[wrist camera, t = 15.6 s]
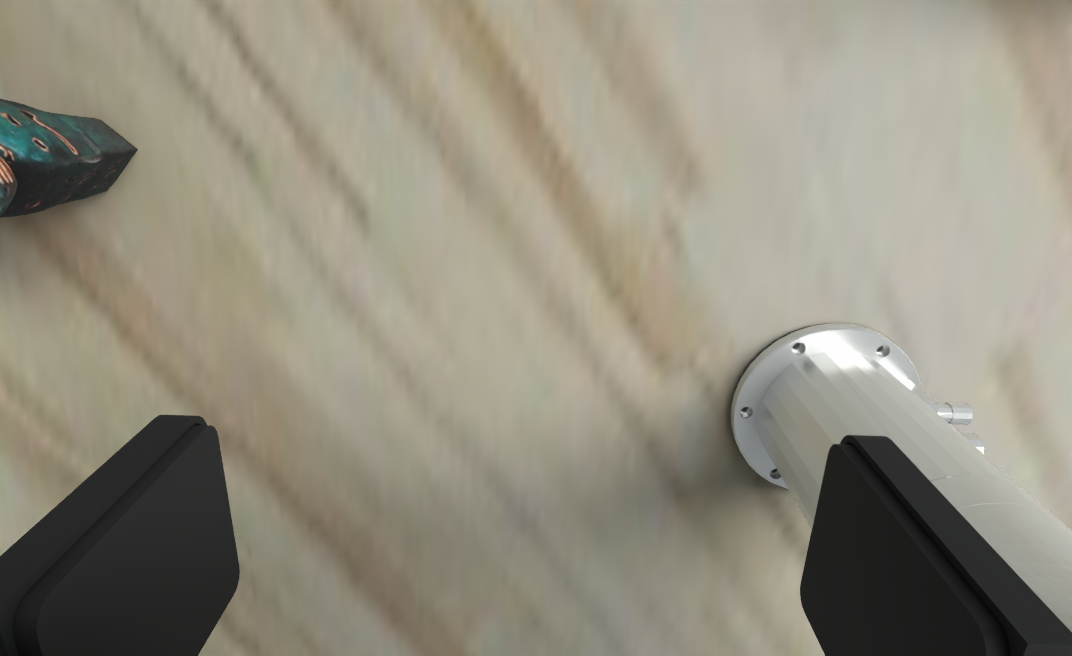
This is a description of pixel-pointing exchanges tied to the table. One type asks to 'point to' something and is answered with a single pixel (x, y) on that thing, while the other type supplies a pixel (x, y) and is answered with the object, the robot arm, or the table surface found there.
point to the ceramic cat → (55, 158)
